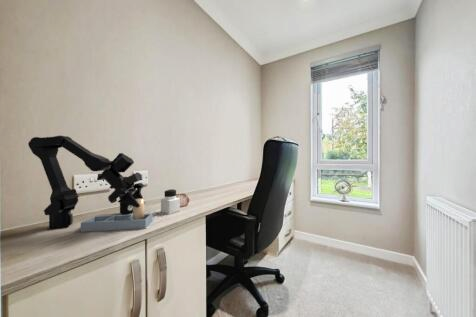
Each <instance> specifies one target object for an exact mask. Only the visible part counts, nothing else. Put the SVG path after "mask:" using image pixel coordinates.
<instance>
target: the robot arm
mask: <svg viewBox="0 0 476 317" xmlns="http://www.w3.org/2000/svg"><path fill="white" fill-rule="evenodd" d="M28 148H29V149H30V150H31V152H32V154H34V156H35V157H37V158H38V159H39V160H40V162H41V166H42V167H43V169H44V174H45V175H46V177H47V181H48V183H49V186H50V189H51V194H50V198H49V201H50V204H48V205H47V207H45V208H44V210H43V213H44V215H45V216H48V218H49V219H48V228H47V229H46V230H47V231H50V230H51V231H52V230H59V229H66V228H69V227H70V226H71V225H72V224H73V222H74V221H73V219H74V218H73V216H74V214H73V213H72V211H74V210H75V208H76V205H77V204H78V203H79V197H80V196H79V195H78V193H77V190H76V188H73V189H71V188H70V187H69V186H68V184H67V181H66V179H65V176H64V174H63V170H62V168H61V165H60V163H59V159H58V157H57V156H58V153H59V149H61V148H64V149H65V150H66V151H68V152H69V153H71V154H72V155H74V156H76V157H77V158H79V159H80V160H82V162H83V163H84V165H85V167H87V168H88V169H89V170H90V171H92V172H101V173H98V174H97V176H96V180H97V181H102V180H105V181H106V182H107V184H108V185H110V186H109V189H110V190H112V189H114V191H112V192H111V193H110V194H109V195H108V198H107V199H108V202H110V204H114V203H116V202H118V203H120V202H121V203H124V204H128V205H131V206H134V207H137V208H138V207H140V205H139V203H138V202H137V201H136V200H135V199H139V198H144V197H143V195H142V192H141V191H142V189H143V188H144V187H145V185H144V183H142V182H140V181H142V180H143V174H141V173H140V172H135V173H133V174H131V175H129V176H123V175H122V174H121V173H125V172H126V171H128V169H130V168H131V167H132V166H133V165H134V163H135V162H134V160H133V158H132V157H129V156H127V155H125V154H124V153H123V152H119V153H118V154H117V156H116V157H115V158H114V159H113V160H110V159H109V158H107V157H105V156H102V155H100V154H96V153H94V152H92V151H90V150H89V149H87V148H86V147H84V146H82V145H81V144H80V143H78V142H77V141H75V140H74V139H72V138H71V137H70V136H68V135H67V136H65V135H55V136H46V137H41V136H40V137H39V136H34V137H32V138H31V139H30V140H29V141H28ZM118 199H119V200H118ZM117 200H118V201H117ZM145 204H146V201H145V200H144V205H145Z"/></svg>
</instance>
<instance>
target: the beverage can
mask: <svg viewBox="0 0 476 317" xmlns="http://www.w3.org/2000/svg"><path fill="white" fill-rule="evenodd" d="M119 214H120V215H133V206H131V205H128V204H124V203H121V202H119Z"/></svg>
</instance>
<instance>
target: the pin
mask: <svg viewBox="0 0 476 317" xmlns="http://www.w3.org/2000/svg"><path fill="white" fill-rule="evenodd" d="M135 200H136V201H137V202H138V203H139V205H140V207H138V208H137V207H134V206H133V213H132V215H133V220H143V219H144V214H145V204H144V201H145V198H144V197H143V198H139V199H135Z"/></svg>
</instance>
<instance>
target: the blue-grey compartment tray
mask: <svg viewBox="0 0 476 317" xmlns="http://www.w3.org/2000/svg"><path fill="white" fill-rule="evenodd" d="M153 216H154V215H153V213H144V219H143V220H133V214H127V215H122V214H117V215H116V214H115V215H114V214H113V215H94V216H92V217H89V218H88V219H86V220H84V221H83V220H82V221H81V222H80V232H84V233H85V232H95V231H96V232H102V231H103V232H104V231H121V230H124V231H125V230H143V229H147V228H148V227H149V226H150V225H151V224H152V223H153V218H154V217H153Z"/></svg>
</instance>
